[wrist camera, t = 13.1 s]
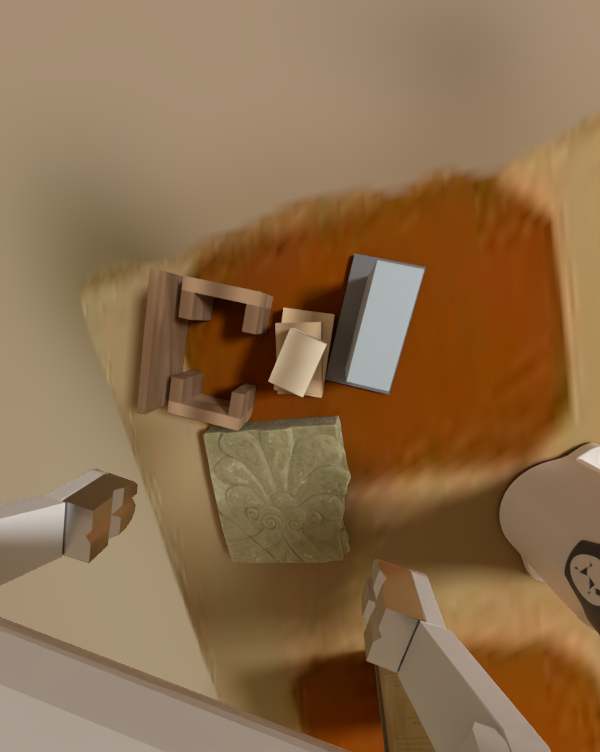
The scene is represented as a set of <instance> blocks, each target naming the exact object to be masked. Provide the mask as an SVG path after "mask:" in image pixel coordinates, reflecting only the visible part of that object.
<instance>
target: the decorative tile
mask: <svg viewBox="0 0 600 752" xmlns="http://www.w3.org/2000/svg"><path fill="white" fill-rule="evenodd" d="M203 437H204V443H205V449H206V454H207V459H208V464H209V469H210V475H211V481H212V485H213V490H214V494H215V499H216V503H217V507H218V514H219V517H220V522H221V525H222V529H223V533H224V537H225V541H226V545H227V548H228V552H229V556H230V558H231V560H232V561H233V562H249V563H284V562H287V563H301V562H312V563H322V562H329V561H338V560H343V559H344V556H345V554H346V553H348V552H349V551H350V546H349V536H348V533H347V530H346V527H345V525H344V523H343V521H344V520H343V515H344V511H345V507H346V504H345V495H346V494H347V486H348V483H349V481H350V478H351V476H350V472H349V469H348V466H347V461H346V453H345V449H344V444H343V437H342V433H341V423H340V420H339V416H324V417H309V418H294V419H281V420H271V421H259V422H247V423H245V424H244V425H243V426H242V427H241V428H240V429H239V430H238V431H237V430H233V429H229V428H225V427H222V426H218V425H214V426H211V427H210V428H209V429H208V430H207V431H206V432H205V433H204V434H203Z"/></svg>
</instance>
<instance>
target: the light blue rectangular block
mask: <svg viewBox="0 0 600 752" xmlns="http://www.w3.org/2000/svg"><path fill="white" fill-rule="evenodd" d="M423 272H424V269H421V268H415V267H410V266H405V265H400V264H395V263H390V262H385V261H379V260H377V262H376V264H375V265H374V267H373V269H372V270H371V272H370V274H369V275H368V278H367V282H366V286H365V290H364V294H363V298H362V302H361V306H360V310H359V314H358V318H357V322H356V326H355V330H354V334H353V338H352V342H351V346H350V350H349V354H348V358H347V362H346V366H345V373H346V381H347V382H351V383H355V384H359V385H364V386H368V387H372V388H376V389H381V390H385V391H389V389H390V386H391V382H392V379H393V376H394V372H395V369H396V365H397V362H398V358H399V355H400V351H401V348H402V345H403V341H404V338H405V334H406V331H407V327H408V324H409V321H410V317H411V314H412V310H413V307H414V303H415V300H416V297H417V293H418V290H419V286H420V283H421V279H422V276H423Z"/></svg>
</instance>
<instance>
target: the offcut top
mask: <svg viewBox="0 0 600 752" xmlns="http://www.w3.org/2000/svg"><path fill="white" fill-rule="evenodd" d="M327 344H328V343H327V342H325V341H322V340H320V339H318V338H316V337H314V336H311V335H309V334H307V333H305V332H302V331H300V330H298V329H296V328H290V330H289V332H288V335H287V337H286V340H285V342H284V344H283V347H282V349H281V352H280V354H279V356H278V359H277V361H276V364H275V366H274V368H273V371H272V373H271V376H270V378H269V380H268V382H270V383H273V384H275V385H277V386H279V387H281V388H283V389H286V390H288V391H290V392H292V393H294V394H296V395H299V396H301V397H303V396H304V394H305V392H306V390H307V388H308V385H309V383H310V381H311V379H312V377H313V374H314V372H315V370H316V368H317V366H318V363H319V361H320V359H321V357H322V355H323V352H324V350H325V348H326V346H327Z"/></svg>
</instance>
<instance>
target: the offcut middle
mask: <svg viewBox="0 0 600 752" xmlns="http://www.w3.org/2000/svg"><path fill="white" fill-rule="evenodd" d="M290 328H296V329H298V330H300V331H302V332H305V333H307V334H309V335H311V336H314V337H316V338H318V339H320V340H322V322H300V323H275V330H276V357H277V359H278V356H279V354H280V352H281V349H282V347H283V344H284V342H285V340H286V337H287V335H288V332H289V330H290ZM322 390H323V355H322V357H321V359H320V361H319V363H318V366H317V368H316V370H315V372H314V374H313V377H312V379H311V381H310V383H309V385H308V388H307V390H306V392H305V394H313V395H321V394H322ZM278 394H294V393H292V392H290V391H288V390H286V389H283V388H281V387H279V386H278Z"/></svg>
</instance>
